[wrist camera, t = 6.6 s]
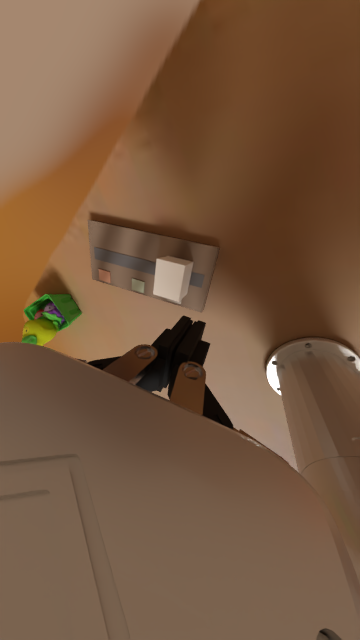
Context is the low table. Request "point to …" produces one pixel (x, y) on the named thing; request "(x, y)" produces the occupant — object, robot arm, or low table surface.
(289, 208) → the low table surface
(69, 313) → the fruit basket
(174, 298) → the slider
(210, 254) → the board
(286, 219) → the low table surface
